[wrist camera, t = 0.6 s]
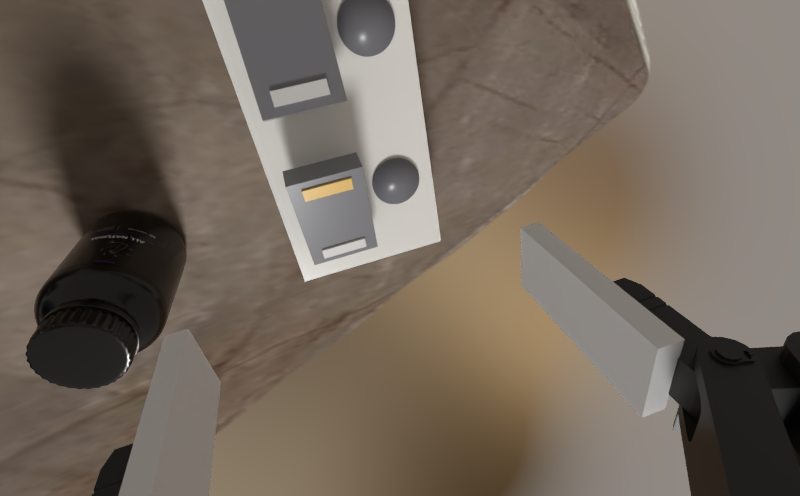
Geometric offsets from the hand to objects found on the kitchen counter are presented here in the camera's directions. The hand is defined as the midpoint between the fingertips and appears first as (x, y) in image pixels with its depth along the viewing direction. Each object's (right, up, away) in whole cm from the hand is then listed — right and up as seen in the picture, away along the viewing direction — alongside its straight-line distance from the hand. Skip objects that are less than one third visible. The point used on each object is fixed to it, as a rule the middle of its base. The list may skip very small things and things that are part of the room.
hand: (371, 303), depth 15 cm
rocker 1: (-5, +13, +7) cm, 16 cm away
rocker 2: (-3, +5, +13) cm, 14 cm away
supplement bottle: (-19, +2, +17) cm, 26 cm away
